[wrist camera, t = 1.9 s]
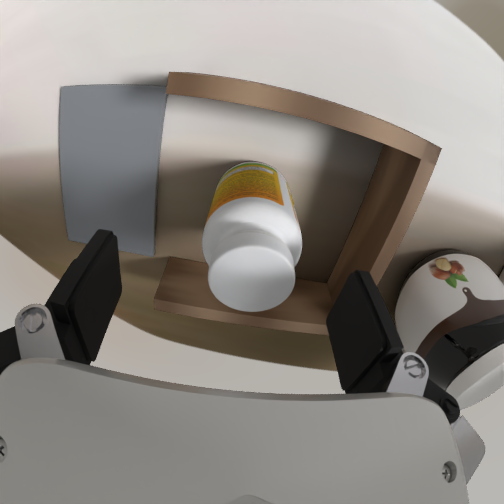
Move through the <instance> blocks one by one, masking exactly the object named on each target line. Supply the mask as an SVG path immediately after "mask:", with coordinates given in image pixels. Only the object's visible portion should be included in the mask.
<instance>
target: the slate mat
mask: <svg viewBox="0 0 504 504" xmlns="http://www.w3.org/2000/svg"><path fill="white" fill-rule="evenodd" d="M166 89H167V87H165V86H149V85H117V84H108V85H76V86H63V87H61V97H60V120H59V147H60V171H61V185H62V196H63V205H64V213H65V221H66V227H67V234H68V240H71V241H75V242H80V243H85V244H88V242H89V241H90V239H91V238H92V237H93V235H94V234H95V233H96V231H97V230H98V229H103V230H110V231H113V234H114V235H116V236H117V240H118V250H120V251H125V252H130V253H135V254H140V255H146V256H151V257H154V255H155V223H156V201H157V184H158V171H159V159H160V149H161V139H162V131H163V122H164V115H165V107H166V101H167V94H166Z"/></svg>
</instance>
